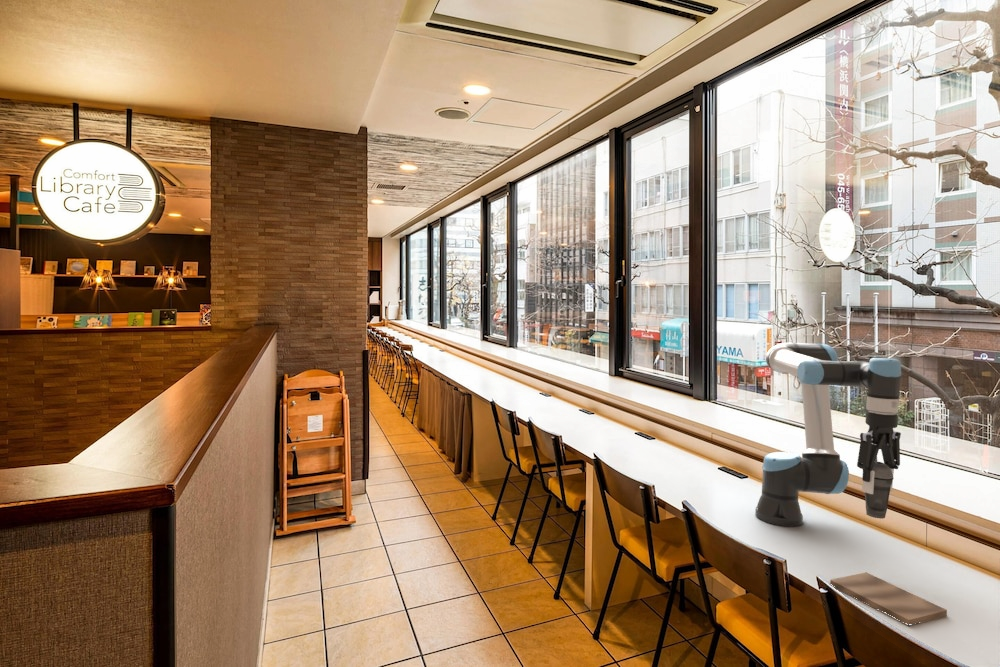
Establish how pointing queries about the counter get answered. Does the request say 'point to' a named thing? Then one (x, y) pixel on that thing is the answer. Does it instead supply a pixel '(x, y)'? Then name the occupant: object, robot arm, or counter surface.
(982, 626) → the counter surface
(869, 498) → the beverage cup
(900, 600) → the serving board
